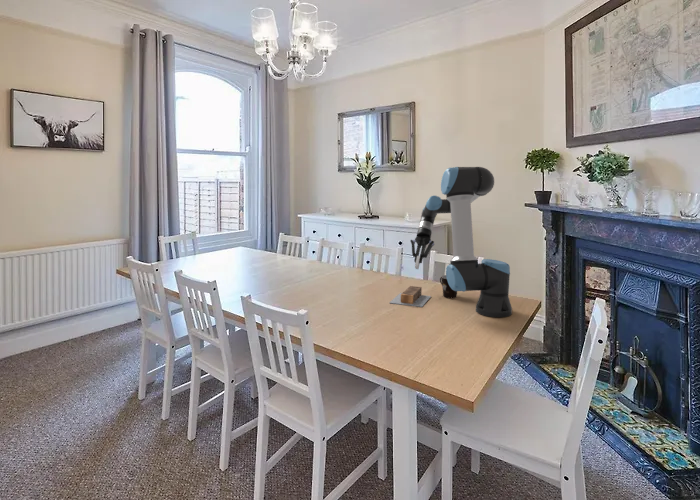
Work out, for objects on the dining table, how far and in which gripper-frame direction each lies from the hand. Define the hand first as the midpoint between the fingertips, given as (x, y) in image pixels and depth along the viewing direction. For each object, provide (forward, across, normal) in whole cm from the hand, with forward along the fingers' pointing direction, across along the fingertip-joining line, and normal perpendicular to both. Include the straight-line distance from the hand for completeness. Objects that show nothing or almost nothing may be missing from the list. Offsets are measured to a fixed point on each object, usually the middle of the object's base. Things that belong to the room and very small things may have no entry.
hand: (416, 267), depth 207 cm
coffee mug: (+8, -16, -11) cm, 22 cm away
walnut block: (+10, 0, -6) cm, 12 cm away
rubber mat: (+18, 0, -1) cm, 18 cm away
